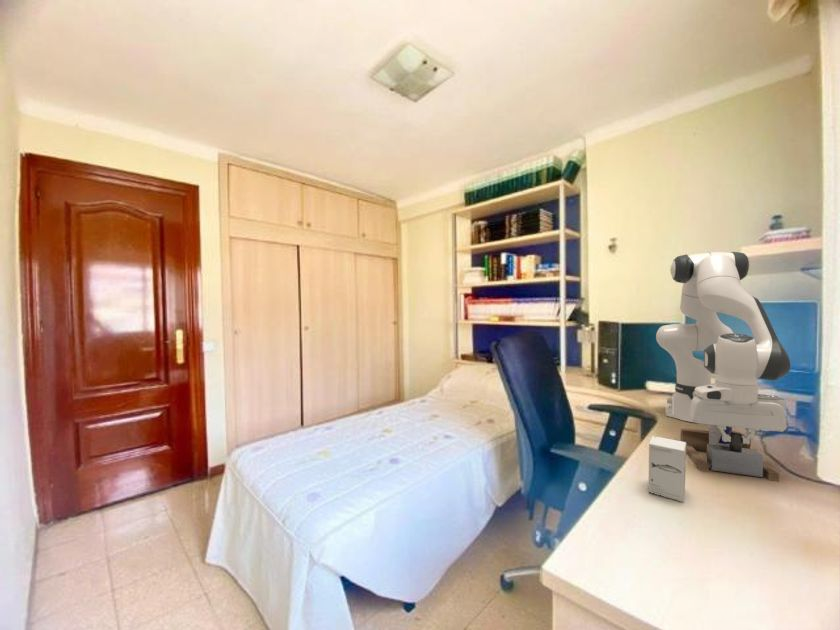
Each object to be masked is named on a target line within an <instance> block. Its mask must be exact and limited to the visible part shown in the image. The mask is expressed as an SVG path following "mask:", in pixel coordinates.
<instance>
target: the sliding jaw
mask: <svg viewBox="0 0 840 630" xmlns="http://www.w3.org/2000/svg"><path fill="white" fill-rule="evenodd" d="M742 434H743V433H742V432H739V431H736V430H735V431H734V430H732V431H730V432H729V436H731V439H730V440H731V442H729V446H720V445H712V444H707V453H706V462H707V464H708V468H709V469H710V470H711V471H715V472H721V473H722V472H723V473H729V474H735V475H736V474H737V475H744V476H752V477H758V478H759V477H760V478H764V475H763V462H764V454H762V453H761V452H760V451H758V450H756V449H754V448H750V449H747V448H742Z"/></svg>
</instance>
